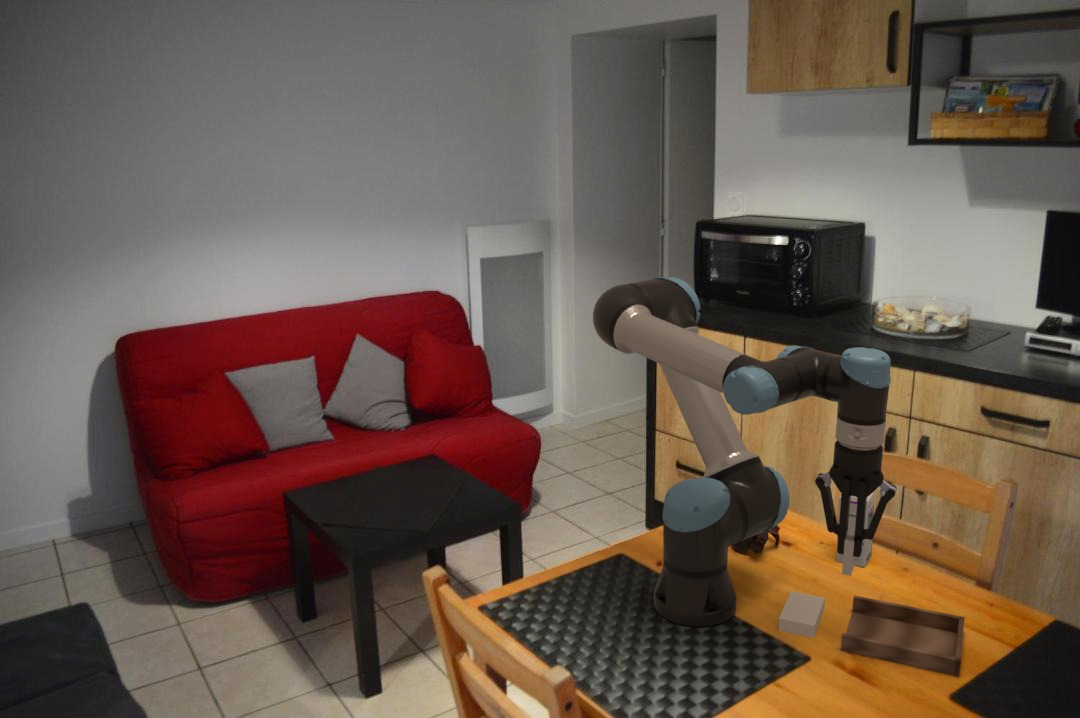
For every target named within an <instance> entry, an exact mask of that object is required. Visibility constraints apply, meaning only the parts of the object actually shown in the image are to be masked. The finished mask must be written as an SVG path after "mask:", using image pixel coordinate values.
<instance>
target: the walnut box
mask: <svg viewBox="0 0 1080 718" xmlns="http://www.w3.org/2000/svg"><path fill="white" fill-rule="evenodd" d="M851 612H852V613H851V615H850V619H849V622H848V625H847V628H846V631H845V633H844V632H842V634H841V637H840V638H841V641H840V642H841V643H840V651H841V652H846V653H851V654H855V655H860V656H863V657H869V658H871V659H877V660H882V661H886V662H890V663H895V664H900V665H904V666H909V667H913V668H918V669H922V670H926V671H932V672H936V673H940V674H944V675H947V676H952V677H953V676H954V677H958V678H959V677H960V675H961V664H962V653H963V652H962V651H963V642H964V629H965V617H964V616H960V615H956V614H950V613H945V612H941V611H936V610H930V609H924V608H920V607H916V606H910V605H906V604H905V605H904V604H900V603H895V602H891V601H890V602H889V601H885V600H879V599H875V598H874V599H873V598H870V597H864V596H859V595H853V599H852V611H851Z"/></svg>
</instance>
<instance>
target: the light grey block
mask: <svg viewBox="0 0 1080 718" xmlns="http://www.w3.org/2000/svg"><path fill="white" fill-rule="evenodd" d="M825 600H826V598H825V597H821V596H817V595H811V594H807V593H802V592H797V591H790V592H789V595H788V597H787V599H786V601H785V603H784V606H783V607H782V611H781V613H780V616H779V617H778V631H781V632H784V633H789V634H794V635H799V636H802V637H808V638H811V639H814V638H815V636H816V633H817V631H818V627H819V625H820V622H821V619H822V618H823V617H822V616H823V613H824V610H825Z"/></svg>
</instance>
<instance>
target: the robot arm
mask: <svg viewBox="0 0 1080 718" xmlns="http://www.w3.org/2000/svg"><path fill="white" fill-rule="evenodd" d="M593 308H594V309H593V312H592V322H593V326H594V330H595V332H596V334H597V336H598V337H599V338H600V339H601V340H602V341H603V343H605V344H606V345H608V346H610V347H611V348H612V349H614V350H617V351H619V352H621V353H623V354H627V355H630V354H634V353H636V354H638V355H640V356H642V357H645V358H647V359H649V360H651V361H653V362H655V363H658V364H659V367H660V369H661V371H662V374H663V376H664V378H665V380H666V382H667V384H668V386H669V389H670V391H671V393H672V396H673V398H674V401H675V403H676V404H677V407H678V408H679V411H680V413H681V415H682V418H683V420H684V422H685V425H686V426H687V428H688V431H689V433H690V436H691V437H692V439H693V441H694V444H695V446H696V449H697V451H698V453H699V455H700V457H701V459H702V462H703V464H704V466H705V471H704V473H703V474H704V475H703V476H702V477H697V478H691V477H690V478H688V479H684V480H680V481H679V482H676V483H675V484H673V485H672V486H671V487H669V488H668V490H667V491H666V493H665V495H664V497H663V498H664V499H663V508H662V516H661V517H662V522H663V523H662V528H663V529H662V530H663V532H662V536H663V541H662V542H663V545H662V546H663V549H662V550H663V555H662V556H663V560H662V561H663V564H662V568H661V571H660V574H659V577H658V579H657V582H656V584H655V588H654V591H653V606H654V608H655V611H656V612H657V613H658V614H659V615H660V616H662V617H663V618H664V619H666V620H668V621H671V622H672V623H674V624H675V623H676V624H679V625H681V626H686V627H687V626H688V627H699V628H700V627H701V628H702V627H703V628H704V627H710V626H711V627H712V626H716V625H719V624H723V623H725V622H726V621H729V620H730V619H731V618H733V616H734V615H735V614H736V610H737V594H736V591H735V588H734V586H733V582H732V579H731V576H730V573H729V569H728V559H729V557H728V555H729V554H728V553H729V547H732V546H731V545H733V544H736V543H738V542H741V541H743V540H745V539H748V538H750V537H753V536H755V535H757V534H760V533H764V532H766V531H769V530H770V529H771V528H772V527H774V526H776V525H778V526H779V525H780V524H781V523H782V522H783V521H784V520H785V518H786V516H787V514H788V510H789V507H790V502H791V501H790V492H789V488H788V485H787V482H786V480H785V478H784V476H783V475H782V474H781V473H780V472H779V471H778V470H775V469H774V468H773V467H771V466H768V465H764V464H763V462H762V460H761V457H760V455H759V454H758V453H754V452H752V451H750V450H748V449H747V447H746V445H745V443H744V439H743V438H742V436H741V434H740V431H739V429H738V427H737V425H736V423H735V421H734V419H733V416H732V414H731V412H730V410H729V408H728V406H727V404H728V405H729V406H730V408H731V410H733V411H734V412H735V413H737V414H740V415H746V416H747V415H753V414H761V413H764V412H765V413H766V411H769V410H772V409H774V408H778V407H780V406H783V405H784V406H785V405H786V404H790V403H794V402H796V401H799V400H803V399H806V398H809V397H817V398H820V399H825V400H827V401H830V402H835V403H837V409H836V411H837V415H836V424H835V425H836V426H835V437H834V438H835V439H836V441H835V443H834V449H833V460H832V462H833V463H832V466H830V469H829V470H828V472H825V473H823V472H820V473H818V474H817V476H816V478H815V480H814V483H815V485H816V487H817V488H818V491H819V492H820V496H821V502H822V507H823V512H824V519H825V524H826V530H827V531H828V532H829V533H834V534H835V535H836V536H838V546H837V545H836V553H837V552H838V554H843V563H842V568H841V575H844V576H849V577H851V576H852V573H853V571H854V566H855V565H854V557H860V555H861V552H862V544H863V540H864V539H868V540H872V541H873V539H874V537H875V535H876V533H877V530H878V528H879V525H880V522H881V520H882V517H883V515H884V513H885V510H886V507H887V504H888V503H889V502H890V501H891V500H892V499H893V498H894V497H895V496H896V493H897V486H896V485H895V484H890V483H889V482H887V481H886V480H885V476H884V473H883V472H882V471H883V470H882V465H883V457H884V456H883V455H884V454H883V453H884V447H883V444H884V443H885V436H886V435H885V433H886V426H887V425H886V423H887V409H888V408H887V407H888V401H889V390H890V384H891V381H892V379H891V364H892V363H891V358H890V356H889V354H887V352H884V351H883V350H880V349H877V348H873V347H870V348H868V347H862V346H861V347H850V348H847V349H845V350H844V351H843V352H842V355H841V356H840V355H836V354H832V353H830V352H829V353H828V352H825V351H822V350H821V351H820V350H818V349H814V347H813V348H812V347H809V346H799V345H788V346H786V347H785V348H783V350H782V351H781V352H779V354H778V355H777V357H776V358H774V359H771V360H767V361H764V360H760V359H757V358H755V357H753V356H751V355H750V356H749V355H747V354H745V353H742V352H740V351H738V350H735V349H733V348H731V347H728V346H725V345H724V344H721V343H719V342H716V341H714V340H713V339H709V338H707V337H704V336H702V335H700V334H699V331H700V328H699V326H698V322H699V320H700V317H701V313H700V312H699V311H700V310H701V305H700V301H699V298H698V295H697V294H696V292H695V290H694V289H693V288H692V286H691V285H690V284H689V283H688V282H686V281H685V280H683V279H680V278H677V277H672V276H669V277H664V276H663V277H654V278H652V279H647V280H642V281H637V282H631V283H630V282H629V283H626V284H625V283H623V284H618V285H615V286H612V287H610V288H608V289H607V290H605V291H604V292H603V293H602V294H601V295H600V296H599V298H597V301H596V303H595V305H594V307H593ZM721 393H722V394H723V395H722V394H721ZM723 396H724V398H723ZM726 403H727V404H726ZM832 482H833V483H834V484H835V486H836V488H837V490H838V491H839V492H840V495H841V508H840V519H839V524H838V519H837V515H836V512H835V511H836V509H835V505H834V499H833V494H832V488H831V484H832ZM878 488H880V489H879V495H880V498H879V500H878V503H877V506H876V507H875V509H874V515H873V518H872V520H871V523H870V525H869V528H868V529H864V525H865V514H866V503H867V497H868V496H869V495H870V494H872V493H873V492H875V491H876V490H877V489H878ZM851 496H855V497H857V512H856V523H855V534H851V533H847V531H848V522H849V511H850V500H851Z"/></svg>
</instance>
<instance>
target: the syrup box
mask: <svg viewBox="0 0 1080 718" xmlns="http://www.w3.org/2000/svg"><path fill="white" fill-rule="evenodd" d="M840 508H841V494H840V495H839V496H838V513H837V515H838V516H837V523H838V524H839V519H840ZM874 508H875V491H874V492H873V493H872V494H870V495H869V496H868V497H867V503H866V514H865V525H864V529H868V528H869V525H870V523H871V520H872V518H873V515H874V513H875V509H874ZM856 512H857V497H855V496H851V500H850V511H849V522H848V531H847V533H851V534H855V523H856ZM836 536H837V535H836ZM836 540H837V541H836V542H837V543H836V547H837V546H838V536H837V539H836ZM872 550H873V539H872V540H868V539H864V540H863V544H862V552H861V555H860V557H854V566H855V567H859V568H860V567H861V568H865V567H866V566H867V564H868V562H869V561H870V559H871V557H872V554H873V552H872ZM836 561H837V562H838V563H842V564H843V554H838V552H837V551H836Z"/></svg>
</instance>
